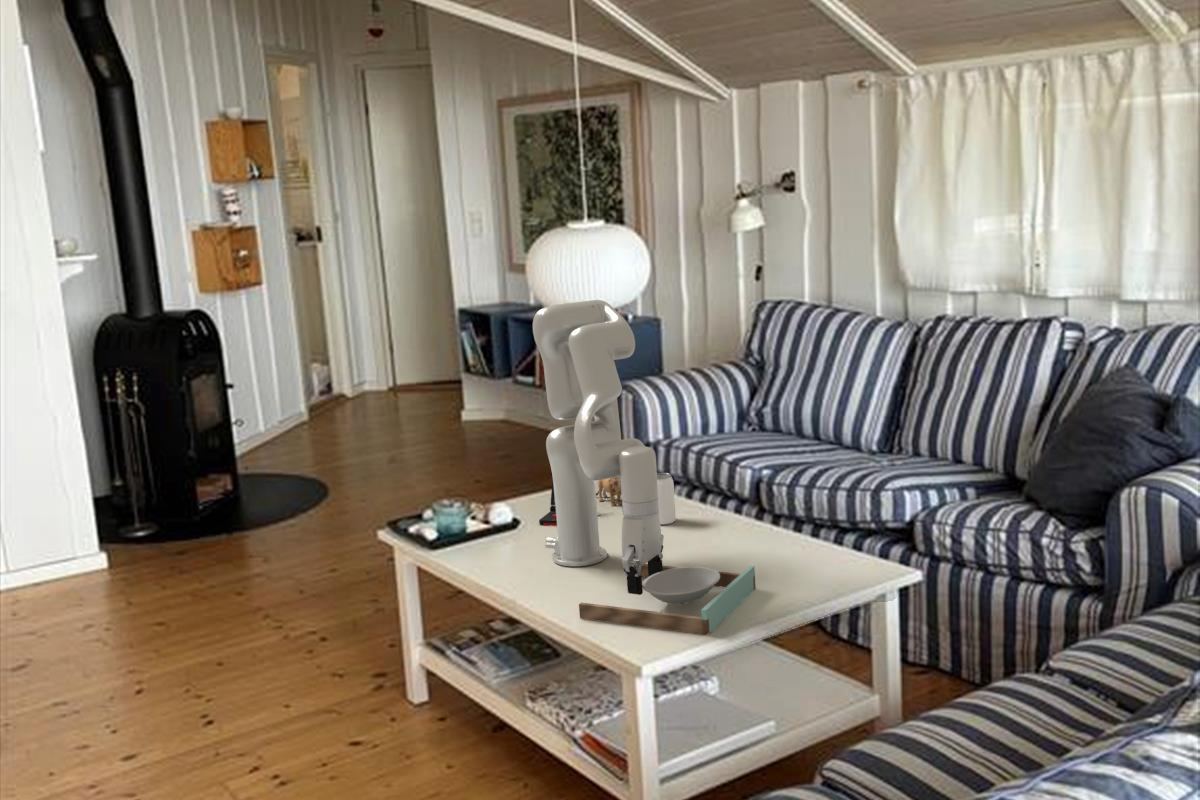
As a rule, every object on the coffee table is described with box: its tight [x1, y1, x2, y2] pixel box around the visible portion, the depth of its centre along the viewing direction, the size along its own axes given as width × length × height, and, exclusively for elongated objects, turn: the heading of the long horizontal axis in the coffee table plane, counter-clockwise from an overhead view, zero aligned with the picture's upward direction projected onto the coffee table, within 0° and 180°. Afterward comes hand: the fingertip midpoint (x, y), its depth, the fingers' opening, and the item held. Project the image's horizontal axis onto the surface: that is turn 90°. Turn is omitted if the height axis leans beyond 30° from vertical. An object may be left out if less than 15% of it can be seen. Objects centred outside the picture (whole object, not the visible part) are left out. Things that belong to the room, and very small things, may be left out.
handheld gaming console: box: [538, 478, 557, 527], centre depth 314 cm, size 9×12×10 cm
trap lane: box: [578, 563, 756, 635], centre depth 250 cm, size 28×26×5 cm
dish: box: [642, 565, 720, 605], centre depth 249 cm, size 18×14×5 cm
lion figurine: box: [596, 476, 622, 507], centre depth 326 cm, size 15×5×9 cm, turn 39°
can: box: [657, 472, 677, 526], centre depth 305 cm, size 6×6×12 cm
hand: (645, 585), depth 252 cm, fingers open, 9 cm apart
